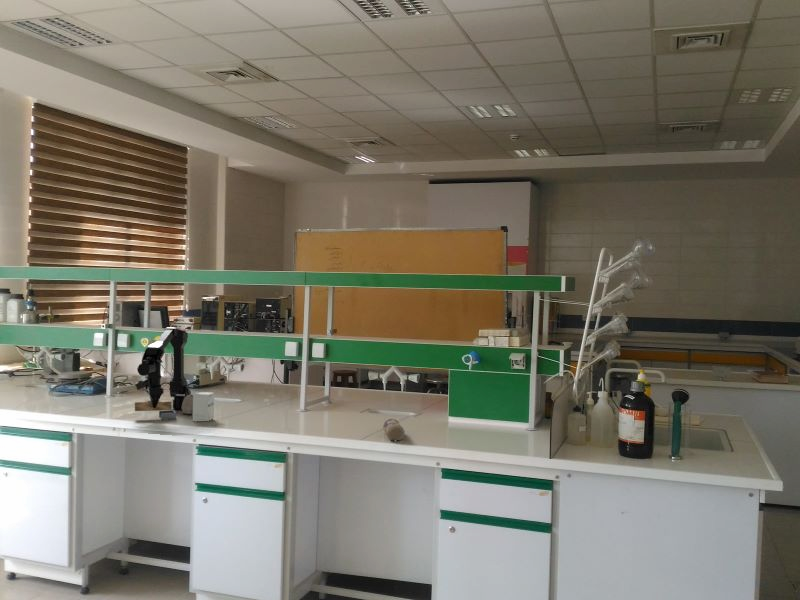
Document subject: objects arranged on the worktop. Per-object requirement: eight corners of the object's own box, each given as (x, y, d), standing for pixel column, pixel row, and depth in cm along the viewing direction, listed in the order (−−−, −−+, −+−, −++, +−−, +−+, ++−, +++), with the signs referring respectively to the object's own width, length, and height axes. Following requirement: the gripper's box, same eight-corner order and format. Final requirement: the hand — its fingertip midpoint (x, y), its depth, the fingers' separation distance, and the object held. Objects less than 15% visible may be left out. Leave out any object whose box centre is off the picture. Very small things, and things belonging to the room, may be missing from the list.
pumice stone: (214, 414, 353) (214, 393, 353) (205, 417, 346) (205, 396, 346) (187, 412, 358) (187, 391, 358) (178, 414, 351) (178, 393, 351)
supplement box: (207, 422, 333) (207, 394, 333) (192, 421, 334) (192, 393, 334) (214, 419, 340) (214, 392, 340) (199, 418, 342) (200, 391, 341)
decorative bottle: (405, 441, 301) (405, 425, 301) (386, 441, 300) (387, 425, 300) (398, 429, 327) (398, 414, 327) (381, 429, 326) (381, 414, 326)
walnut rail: (171, 408, 343) (171, 400, 343) (171, 410, 339) (171, 401, 339) (135, 409, 338) (135, 401, 338) (134, 411, 334) (134, 402, 334)
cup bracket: (173, 416, 346) (173, 410, 346) (176, 419, 339) (176, 412, 339) (159, 417, 343) (159, 410, 343) (161, 419, 336) (161, 413, 336)
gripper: (133, 371, 343) (133, 404, 343) (137, 376, 326) (137, 411, 326) (158, 370, 348) (157, 403, 348) (163, 375, 331) (163, 409, 331)
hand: (153, 407), depth 338 cm, fingers closed on walnut rail, 4 cm apart
